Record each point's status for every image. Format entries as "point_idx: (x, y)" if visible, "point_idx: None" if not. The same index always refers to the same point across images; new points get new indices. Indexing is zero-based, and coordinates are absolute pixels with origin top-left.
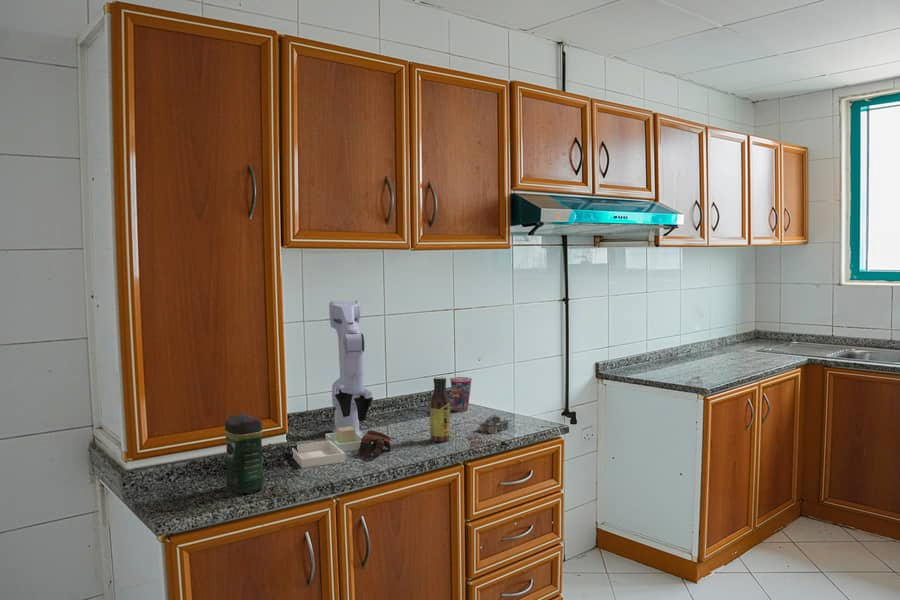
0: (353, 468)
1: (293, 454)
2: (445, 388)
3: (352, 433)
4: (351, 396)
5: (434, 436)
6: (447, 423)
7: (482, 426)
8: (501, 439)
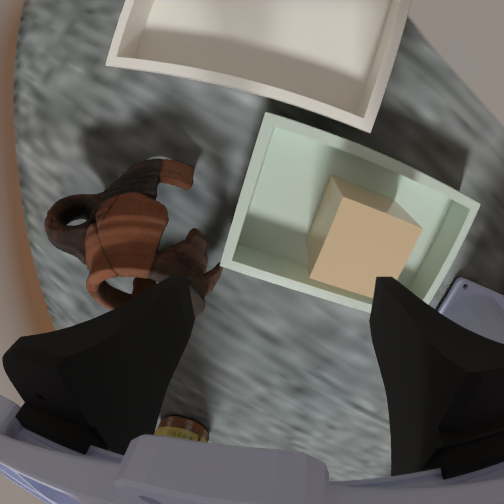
0: (73, 74)
1: None
2: None
3: (313, 253)
4: (394, 462)
5: (172, 426)
6: None
7: None
8: None
